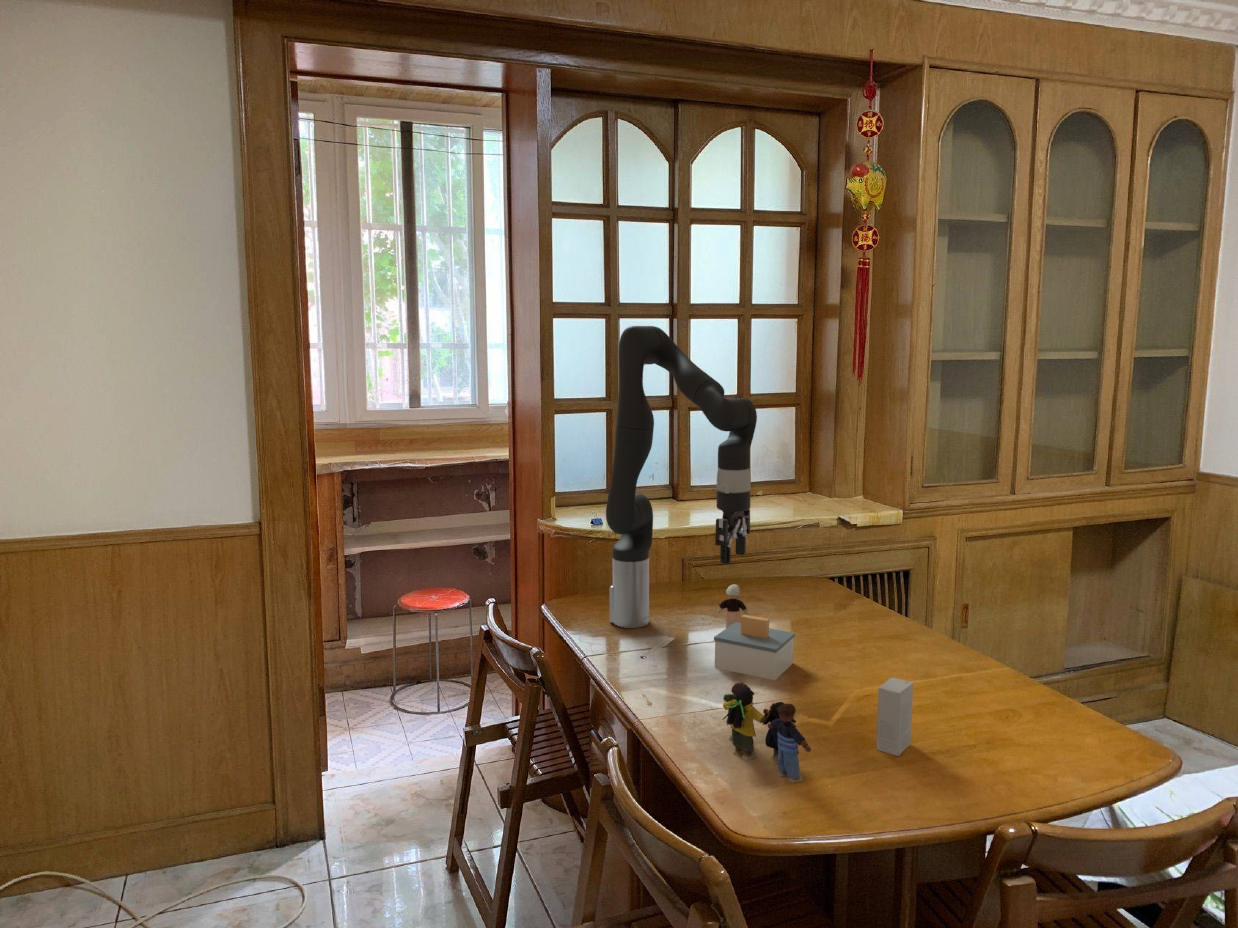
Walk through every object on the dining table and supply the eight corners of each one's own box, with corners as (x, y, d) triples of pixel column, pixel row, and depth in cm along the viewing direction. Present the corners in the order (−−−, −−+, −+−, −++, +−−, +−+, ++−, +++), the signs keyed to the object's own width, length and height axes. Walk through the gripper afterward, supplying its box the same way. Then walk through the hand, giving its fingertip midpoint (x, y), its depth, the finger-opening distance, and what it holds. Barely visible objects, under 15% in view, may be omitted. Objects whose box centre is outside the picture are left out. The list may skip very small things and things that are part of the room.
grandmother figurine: (747, 632, 222) (748, 582, 219) (748, 637, 218) (749, 587, 216) (716, 631, 222) (717, 582, 220) (716, 636, 219) (717, 586, 216)
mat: (640, 657, 205) (640, 655, 205) (669, 638, 217) (669, 636, 217) (703, 671, 197) (703, 669, 197) (729, 650, 209) (729, 648, 209)
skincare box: (888, 737, 166) (891, 676, 164) (911, 744, 163) (914, 682, 161) (875, 749, 161) (877, 686, 159) (898, 757, 158) (901, 693, 156)
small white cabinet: (714, 670, 198) (715, 640, 196) (735, 654, 207) (735, 625, 206) (774, 683, 190) (775, 652, 189) (793, 666, 200) (793, 636, 199)
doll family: (834, 773, 153) (837, 700, 151) (804, 793, 147) (806, 717, 144) (728, 730, 169) (729, 663, 167) (697, 746, 163) (697, 677, 161)
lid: (713, 644, 196) (714, 619, 196) (735, 629, 206) (735, 605, 205) (775, 657, 189) (776, 631, 188) (794, 640, 199) (795, 615, 198)
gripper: (730, 481, 207) (730, 549, 210) (704, 492, 195) (704, 564, 198) (761, 484, 204) (760, 553, 206) (736, 494, 191) (736, 568, 194)
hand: (733, 558), depth 202 cm, fingers open, 8 cm apart
